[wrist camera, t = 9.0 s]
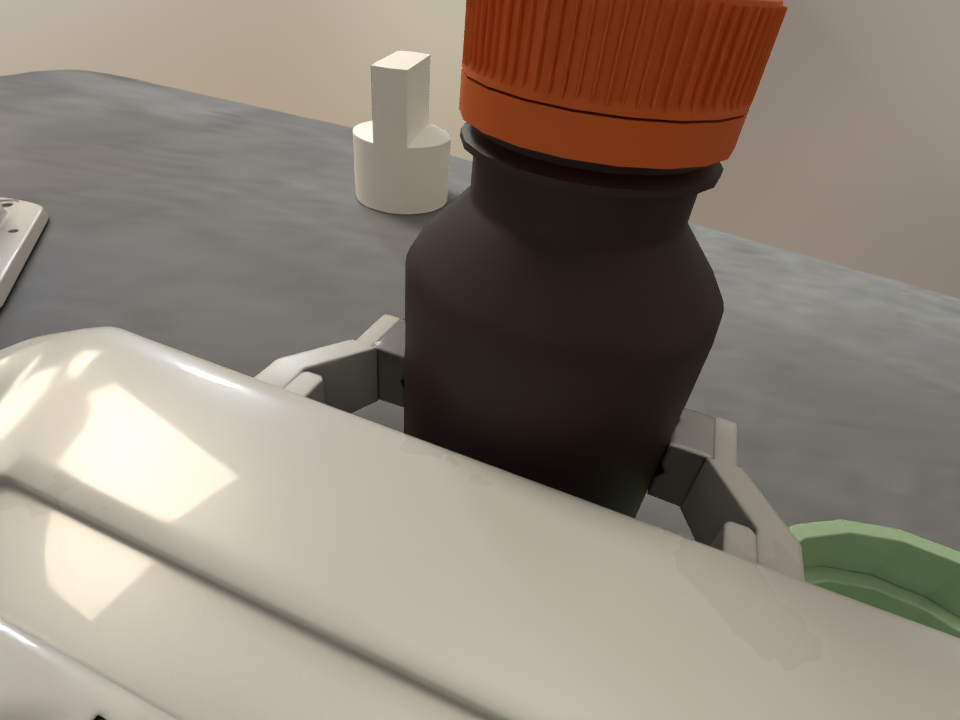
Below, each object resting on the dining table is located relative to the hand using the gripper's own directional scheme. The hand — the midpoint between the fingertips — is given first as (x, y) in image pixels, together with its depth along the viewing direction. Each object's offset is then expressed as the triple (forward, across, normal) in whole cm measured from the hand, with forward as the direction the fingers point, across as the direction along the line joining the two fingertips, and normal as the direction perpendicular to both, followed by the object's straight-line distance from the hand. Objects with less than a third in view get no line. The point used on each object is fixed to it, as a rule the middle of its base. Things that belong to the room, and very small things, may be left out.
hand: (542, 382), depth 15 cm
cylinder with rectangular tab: (+35, +23, +11) cm, 43 cm away
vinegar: (-1, 0, +11) cm, 11 cm away
